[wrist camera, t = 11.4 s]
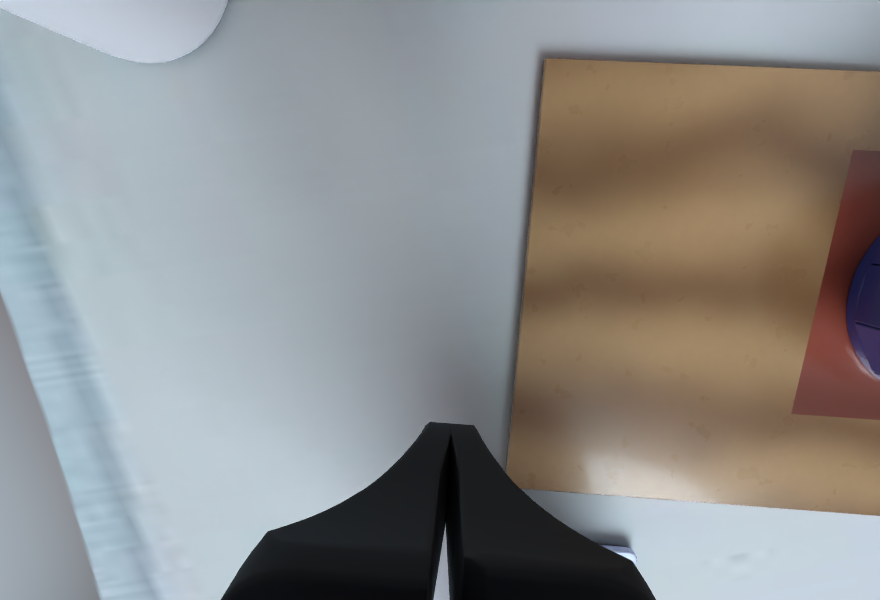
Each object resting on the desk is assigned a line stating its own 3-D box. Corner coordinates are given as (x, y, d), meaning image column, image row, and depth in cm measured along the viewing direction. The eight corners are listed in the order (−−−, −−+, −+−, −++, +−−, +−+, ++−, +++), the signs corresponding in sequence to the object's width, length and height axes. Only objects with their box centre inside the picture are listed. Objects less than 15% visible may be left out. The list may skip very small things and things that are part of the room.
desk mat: (1011, 521, 22) (1021, 527, 21) (504, 483, 23) (505, 488, 22) (1170, 86, 18) (1186, 83, 17) (543, 60, 19) (545, 57, 18)
